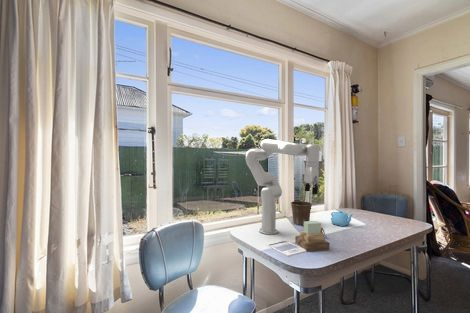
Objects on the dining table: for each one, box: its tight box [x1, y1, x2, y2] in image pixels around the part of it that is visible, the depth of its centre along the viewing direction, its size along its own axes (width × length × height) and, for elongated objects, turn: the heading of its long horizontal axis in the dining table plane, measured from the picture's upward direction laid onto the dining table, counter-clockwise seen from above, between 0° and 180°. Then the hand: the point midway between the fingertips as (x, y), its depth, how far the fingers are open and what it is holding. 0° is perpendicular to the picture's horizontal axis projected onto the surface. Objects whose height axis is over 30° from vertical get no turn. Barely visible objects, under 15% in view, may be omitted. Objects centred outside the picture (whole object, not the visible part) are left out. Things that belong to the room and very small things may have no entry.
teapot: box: [330, 210, 354, 227], centre depth 191 cm, size 13×11×18 cm
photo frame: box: [266, 240, 307, 257], centre depth 142 cm, size 15×1×18 cm
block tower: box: [294, 229, 330, 252], centre depth 145 cm, size 14×14×8 cm
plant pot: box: [290, 200, 313, 227], centre depth 193 cm, size 16×16×16 cm
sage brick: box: [303, 220, 322, 234], centre depth 145 cm, size 5×8×6 cm, turn 102°
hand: (311, 192), depth 152 cm, fingers open, 9 cm apart
